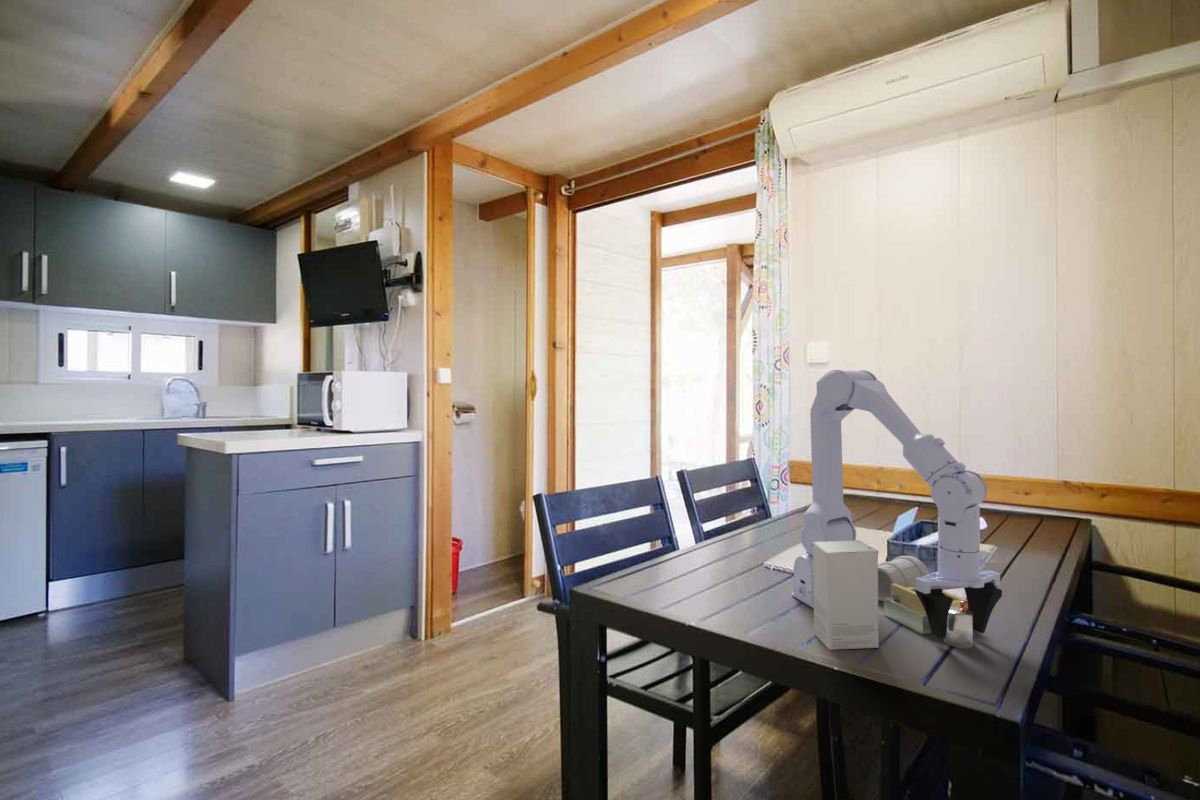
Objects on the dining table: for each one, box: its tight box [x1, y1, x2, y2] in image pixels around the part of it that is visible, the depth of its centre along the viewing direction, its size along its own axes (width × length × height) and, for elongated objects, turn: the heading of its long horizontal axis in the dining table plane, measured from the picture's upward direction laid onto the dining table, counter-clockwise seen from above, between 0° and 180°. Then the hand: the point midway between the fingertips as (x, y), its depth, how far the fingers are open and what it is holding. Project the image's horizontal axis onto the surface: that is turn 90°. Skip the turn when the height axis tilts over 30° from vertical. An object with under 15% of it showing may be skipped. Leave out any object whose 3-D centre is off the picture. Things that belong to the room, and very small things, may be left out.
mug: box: [878, 555, 930, 602], centre depth 116 cm, size 8×12×12 cm
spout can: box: [942, 600, 974, 649], centre depth 95 cm, size 4×4×6 cm
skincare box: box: [813, 539, 880, 651], centre depth 95 cm, size 8×7×16 cm
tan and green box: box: [883, 583, 967, 635], centre depth 104 cm, size 10×9×6 cm
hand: (958, 633), depth 95 cm, fingers open, 7 cm apart
